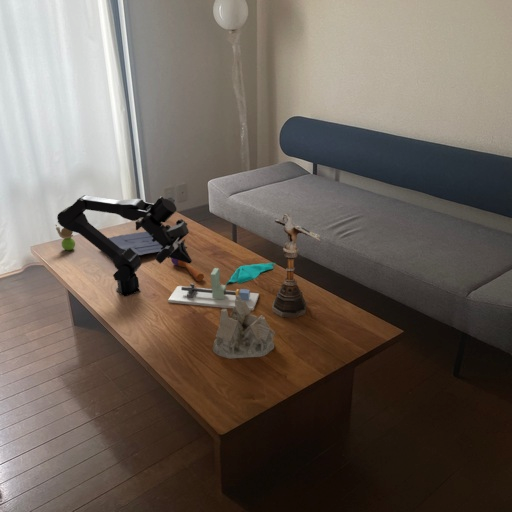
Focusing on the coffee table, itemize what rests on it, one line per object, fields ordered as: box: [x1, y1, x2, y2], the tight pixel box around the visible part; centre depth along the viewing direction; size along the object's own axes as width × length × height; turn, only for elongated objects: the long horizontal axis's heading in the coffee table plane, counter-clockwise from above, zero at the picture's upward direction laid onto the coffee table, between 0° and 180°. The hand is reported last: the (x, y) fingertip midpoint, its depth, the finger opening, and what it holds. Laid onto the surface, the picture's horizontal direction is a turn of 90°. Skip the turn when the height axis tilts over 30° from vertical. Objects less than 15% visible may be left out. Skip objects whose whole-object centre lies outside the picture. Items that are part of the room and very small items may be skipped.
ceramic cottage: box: [212, 295, 276, 360], centre depth 151 cm, size 16×16×15 cm
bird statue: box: [271, 213, 322, 319], centre depth 167 cm, size 17×13×35 cm
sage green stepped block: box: [210, 267, 227, 299], centre depth 176 cm, size 4×5×10 cm
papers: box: [107, 231, 187, 256], centre depth 219 cm, size 24×30×4 cm
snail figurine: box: [55, 224, 76, 251], centre depth 215 cm, size 5×6×12 cm
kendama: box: [170, 258, 205, 282], centre depth 198 cm, size 6×6×20 cm
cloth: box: [225, 262, 277, 286], centre depth 197 cm, size 26×14×2 cm, turn 121°
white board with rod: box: [167, 282, 260, 312], centre depth 178 cm, size 30×10×5 cm, turn 78°
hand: (190, 262), depth 175 cm, fingers closed
